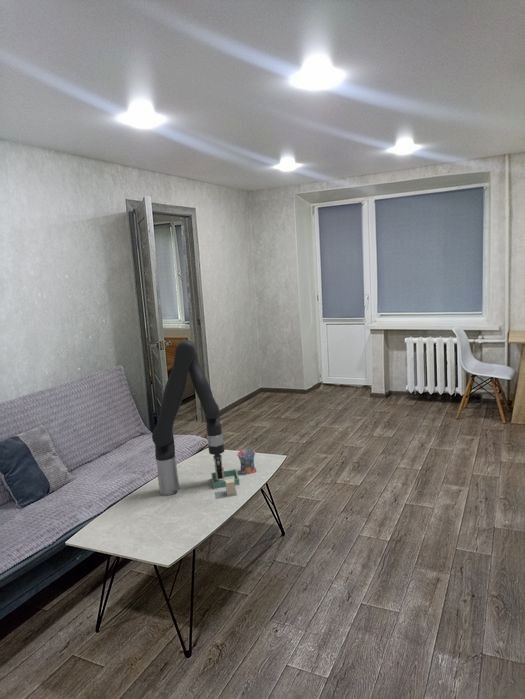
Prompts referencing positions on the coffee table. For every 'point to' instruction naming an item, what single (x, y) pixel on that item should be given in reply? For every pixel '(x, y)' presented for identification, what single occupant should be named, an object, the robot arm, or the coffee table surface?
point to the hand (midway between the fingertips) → (219, 476)
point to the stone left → (222, 473)
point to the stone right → (230, 487)
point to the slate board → (223, 494)
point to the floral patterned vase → (247, 461)
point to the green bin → (226, 474)
